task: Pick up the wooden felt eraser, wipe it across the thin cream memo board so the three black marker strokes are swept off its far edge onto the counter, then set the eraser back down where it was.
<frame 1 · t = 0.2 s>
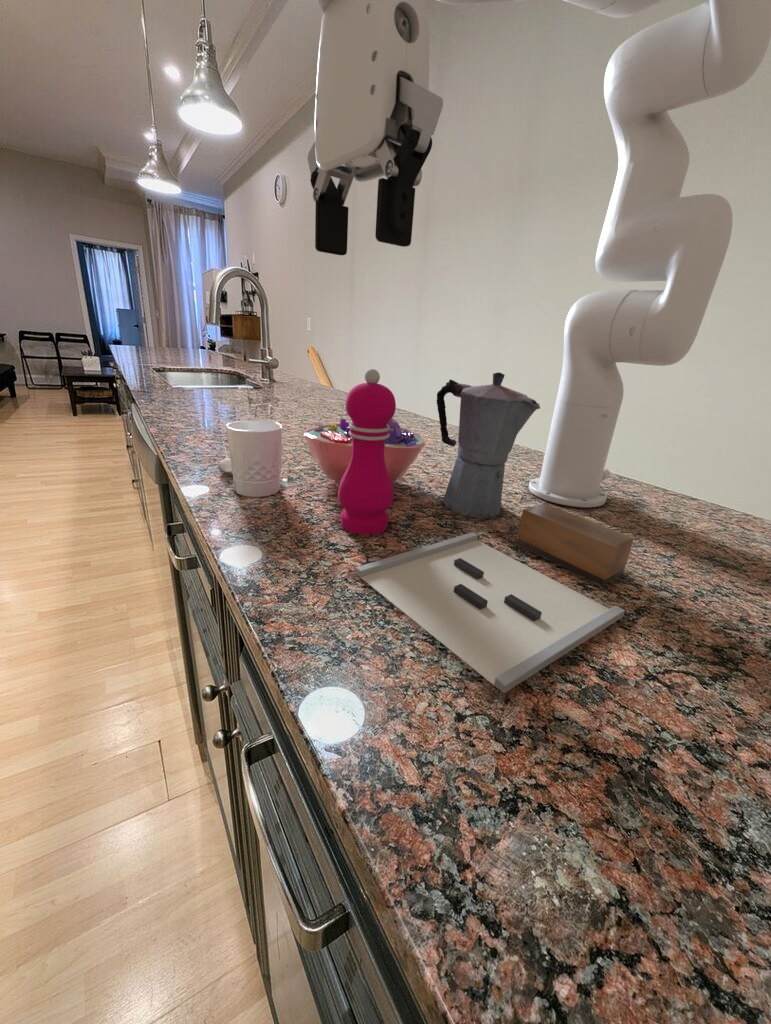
hand: (359, 248, 39), 31 cm above the table, tool pointing down, fingers open, 9 cm apart
macaroon: (231, 475, 75), on the table
stroke 2: (469, 599, 44), resting on memo board
stroke 3: (521, 610, 43), resting on memo board
memo board: (482, 596, 45), on the table
pepper mill: (364, 527, 59), on the table
stroke 1: (468, 571, 49), resting on memo board
white cup: (257, 491, 69), on the table
cell model: (362, 483, 76), on the table
eraser: (566, 560, 54), on the table
moka pot: (468, 508, 68), on the table
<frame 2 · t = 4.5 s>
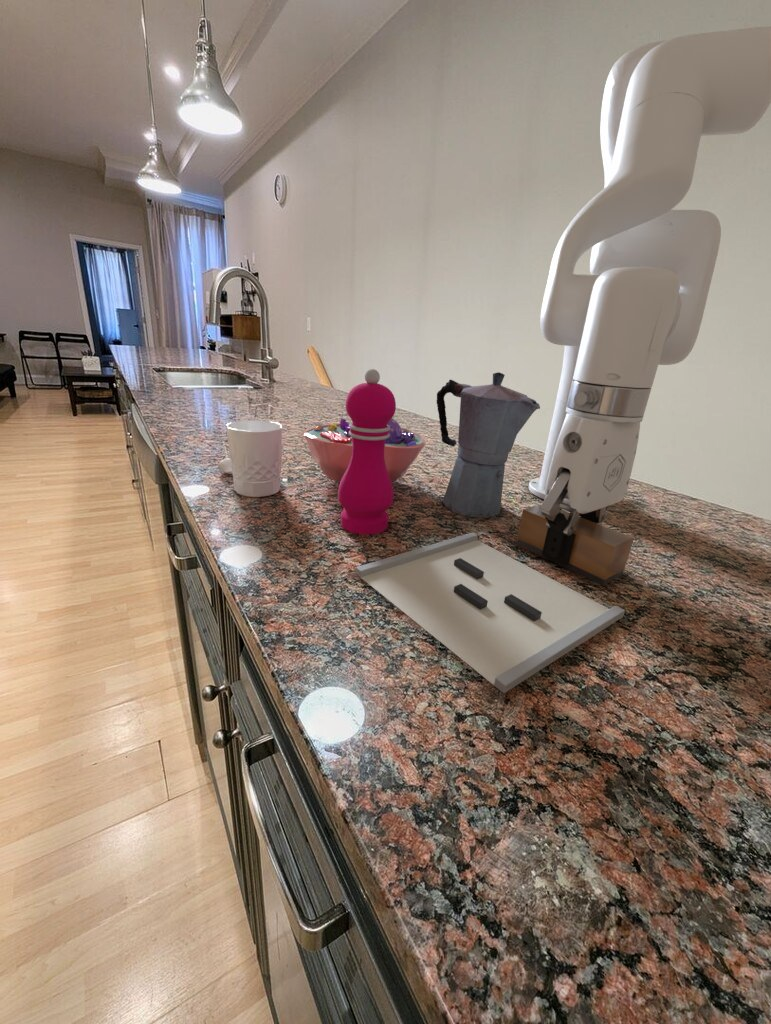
hand: (567, 554, 54), 1 cm above the table, tool pointing down, fingers closed on eraser, 4 cm apart
eraser: (566, 560, 54), on the table, touching gripper
everything else where it was.
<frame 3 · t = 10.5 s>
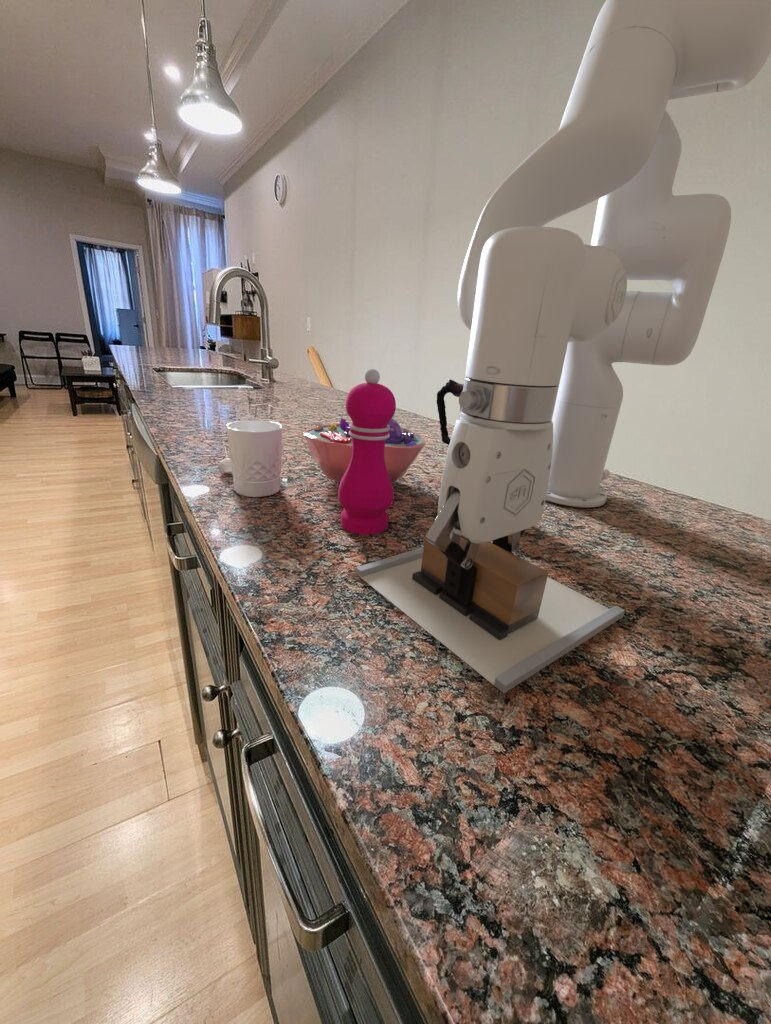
hand: (476, 588, 44), 1 cm above the table, tool pointing down, fingers closed on eraser, 4 cm apart
stroke 2: (455, 605, 43), resting on memo board
stroke 3: (487, 627, 40), resting on memo board
stroke 1: (426, 585, 46), resting on memo board
eraser: (475, 595, 45), resting on memo board, touching gripper
everything else where it was.
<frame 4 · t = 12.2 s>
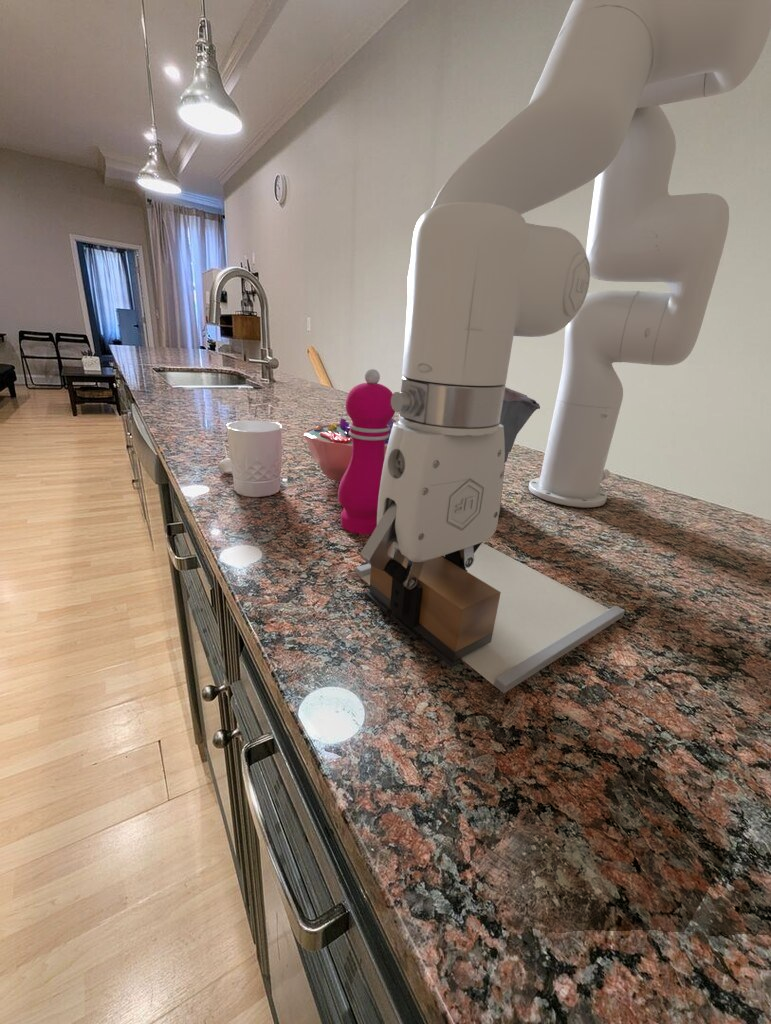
hand: (426, 607, 40), 1 cm above the table, tool pointing down, fingers closed on eraser, 4 cm apart
stroke 2: (406, 629, 40), on the table, touching eraser
stroke 3: (440, 656, 37), on the table
stroke 1: (379, 605, 43), on the table, touching eraser
eraser: (425, 615, 41), point 1 cm above the table, touching gripper, stroke 1, stroke 2
everything else where it was.
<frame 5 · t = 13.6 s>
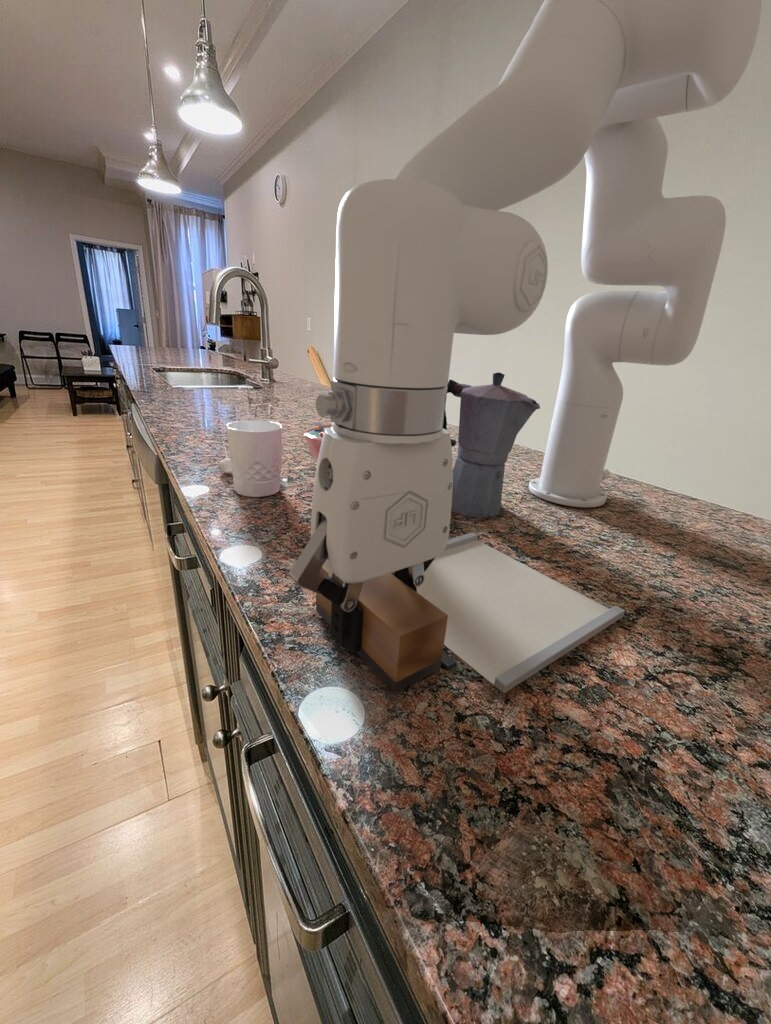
hand: (373, 629, 37), 1 cm above the table, tool pointing down, fingers closed on eraser, 4 cm apart
stroke 2: (403, 630, 39), on the table
stroke 1: (377, 606, 43), on the table
eraser: (373, 637, 37), point 1 cm above the table, touching gripper
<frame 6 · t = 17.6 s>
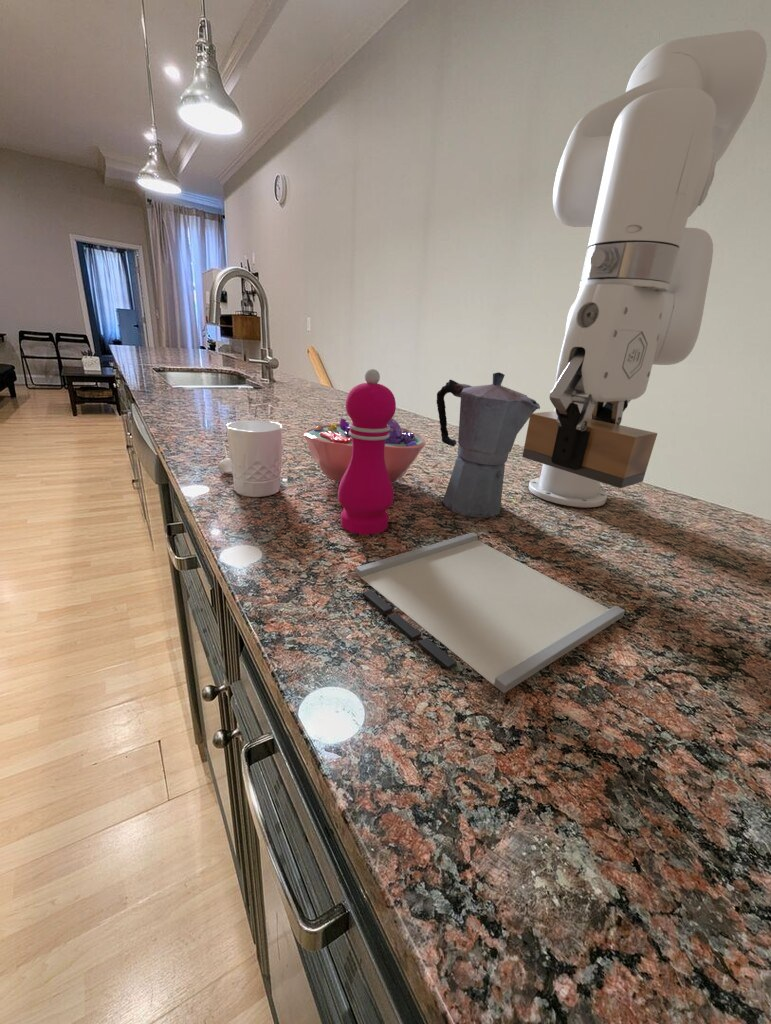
hand: (579, 461, 48), 13 cm above the table, tool pointing down, fingers closed on eraser, 4 cm apart
eraser: (578, 468, 48), point 12 cm above the table, touching gripper
everything else where it was.
when the fingers open (1 cm above the table, at t = 20.8 s): eraser stays where it is, on the table.
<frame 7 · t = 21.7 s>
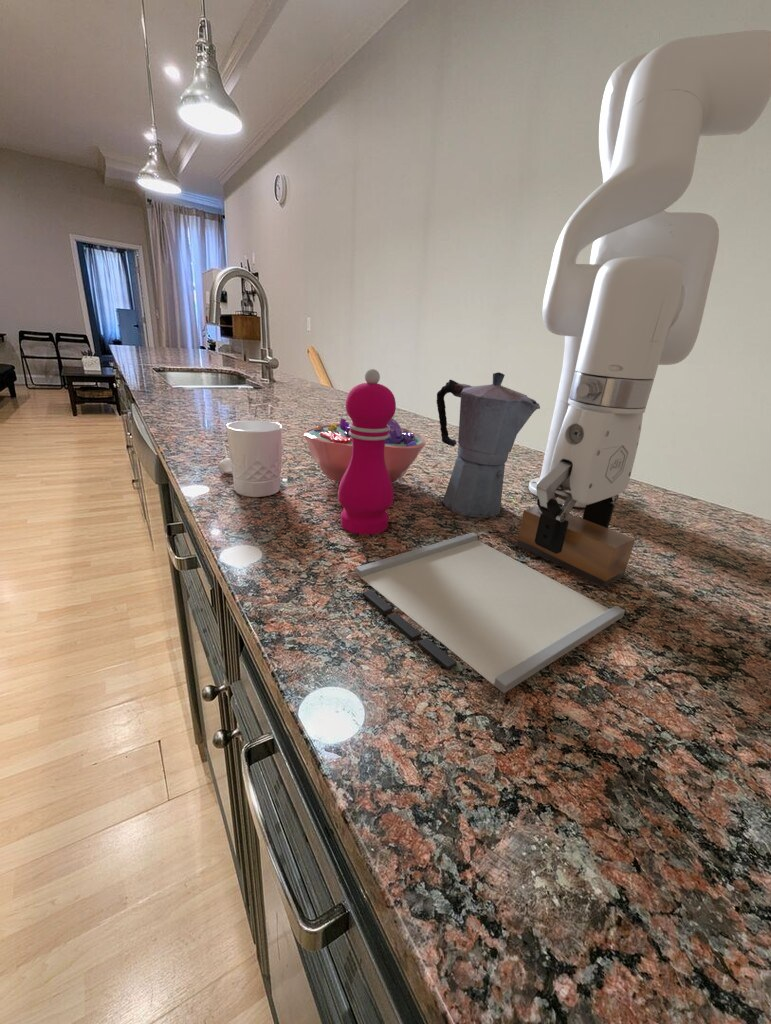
hand: (571, 538, 54), 3 cm above the table, tool pointing down, fingers open, 9 cm apart
eraser: (566, 561, 54), on the table
everything else where it was.
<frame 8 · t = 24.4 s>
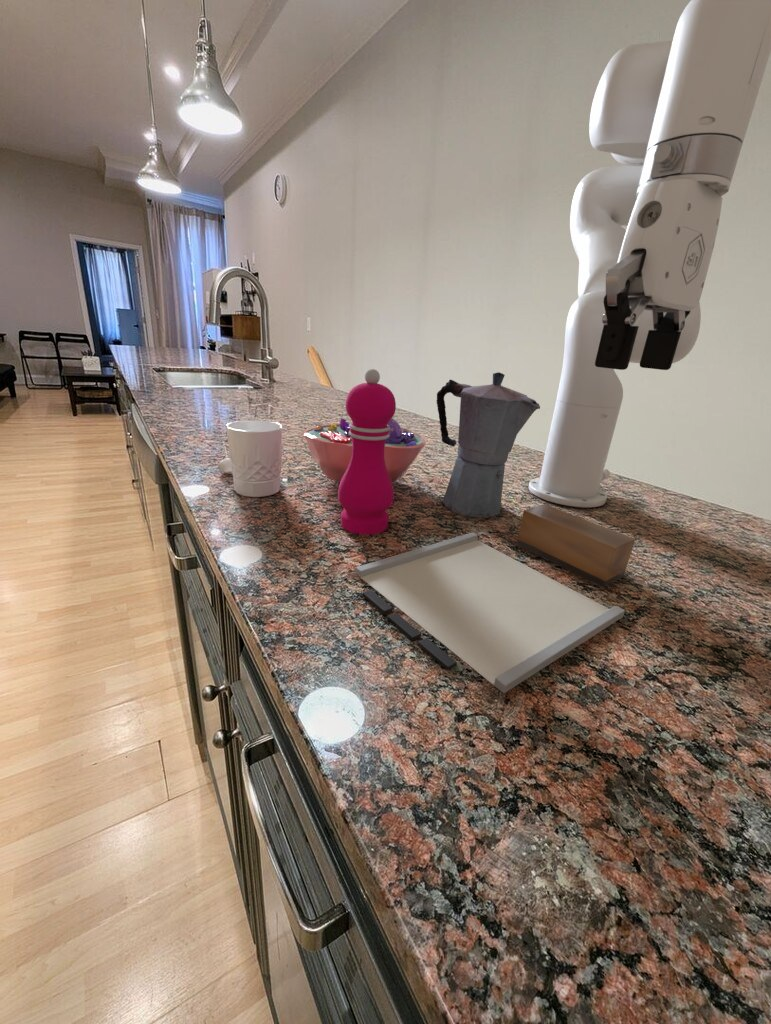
hand: (633, 368, 48), 22 cm above the table, tool pointing down, fingers open, 9 cm apart
nothing on the table moved.
at the end: stroke 1 inside the target area (8.9 cm from its centre), on the table; stroke 2 inside the target area (7.2 cm from its centre), on the table; stroke 3 inside the target area (7.8 cm from its centre), on the table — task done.
